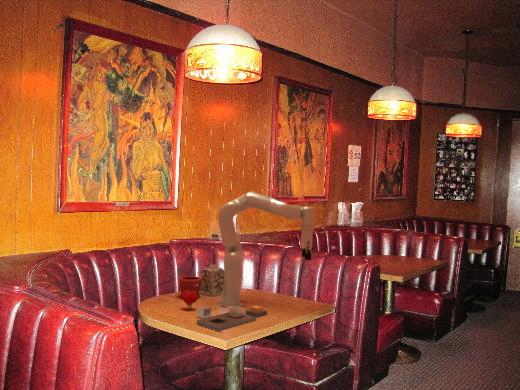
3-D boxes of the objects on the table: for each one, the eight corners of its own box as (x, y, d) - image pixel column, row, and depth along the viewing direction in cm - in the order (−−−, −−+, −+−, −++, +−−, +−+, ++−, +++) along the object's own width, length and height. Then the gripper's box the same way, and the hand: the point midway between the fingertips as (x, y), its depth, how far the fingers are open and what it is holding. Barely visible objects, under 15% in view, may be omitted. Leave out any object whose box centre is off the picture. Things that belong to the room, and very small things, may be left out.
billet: (196, 319, 263) (197, 307, 263) (203, 317, 267) (204, 305, 267) (203, 321, 260) (203, 309, 260) (210, 319, 264) (210, 307, 263)
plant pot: (204, 298, 306) (205, 278, 305) (184, 301, 299) (185, 280, 298) (195, 293, 317) (195, 274, 316) (175, 296, 310) (176, 276, 309)
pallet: (196, 325, 252) (197, 320, 252) (233, 315, 272) (233, 310, 272) (219, 332, 241) (219, 327, 241) (255, 322, 261) (256, 317, 261)
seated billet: (229, 319, 261) (229, 307, 261) (235, 317, 265) (236, 305, 265) (236, 321, 258) (236, 309, 258) (242, 319, 262) (243, 307, 261)
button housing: (245, 316, 271) (245, 310, 271) (255, 313, 277) (255, 307, 277) (256, 319, 266) (256, 313, 266) (266, 316, 272) (266, 310, 272)
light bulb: (199, 308, 282) (200, 291, 282) (193, 311, 276) (193, 293, 276) (185, 306, 286) (186, 288, 286) (178, 309, 280) (179, 291, 279)
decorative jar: (212, 296, 311) (213, 267, 310) (199, 293, 319) (200, 264, 318) (226, 293, 320) (226, 265, 319) (213, 290, 328) (213, 262, 327)
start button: (250, 311, 271) (250, 306, 271) (255, 310, 275) (256, 305, 275) (256, 313, 269) (256, 308, 268) (262, 311, 272) (262, 307, 272)
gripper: (298, 226, 295) (296, 255, 296) (304, 229, 278) (302, 261, 279) (310, 226, 296) (309, 256, 297) (317, 230, 279) (316, 261, 280)
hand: (306, 258), depth 288 cm, fingers open, 9 cm apart
